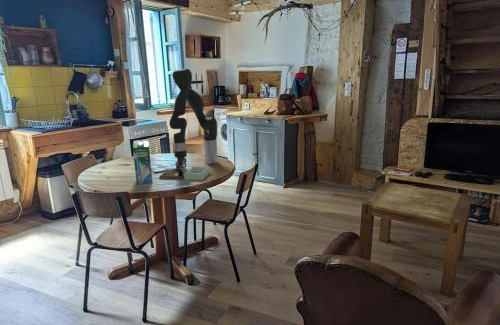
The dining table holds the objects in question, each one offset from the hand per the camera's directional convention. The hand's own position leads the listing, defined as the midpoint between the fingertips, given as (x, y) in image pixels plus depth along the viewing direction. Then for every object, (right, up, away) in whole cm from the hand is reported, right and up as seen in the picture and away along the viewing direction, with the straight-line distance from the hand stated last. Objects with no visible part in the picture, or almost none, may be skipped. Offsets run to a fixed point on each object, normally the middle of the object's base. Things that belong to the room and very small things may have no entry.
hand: (182, 175), depth 224 cm
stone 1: (-8, 0, +1) cm, 8 cm away
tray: (-4, -1, +1) cm, 4 cm away
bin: (+10, -1, -2) cm, 10 cm away
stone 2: (0, 0, 0) cm, 0 cm away
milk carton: (-21, -4, -10) cm, 24 cm away
